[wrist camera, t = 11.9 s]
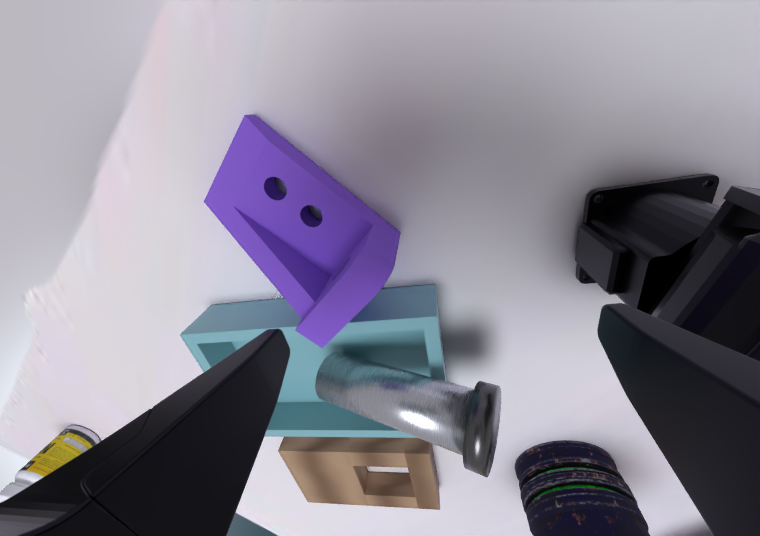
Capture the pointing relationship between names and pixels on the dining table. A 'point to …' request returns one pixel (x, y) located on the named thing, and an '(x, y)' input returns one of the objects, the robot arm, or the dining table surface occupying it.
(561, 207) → the dining table surface
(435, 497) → the block
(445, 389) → the pin
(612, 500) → the storage jar
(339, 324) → the bracket
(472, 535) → the dining table surface
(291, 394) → the tray
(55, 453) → the supplement bottle
